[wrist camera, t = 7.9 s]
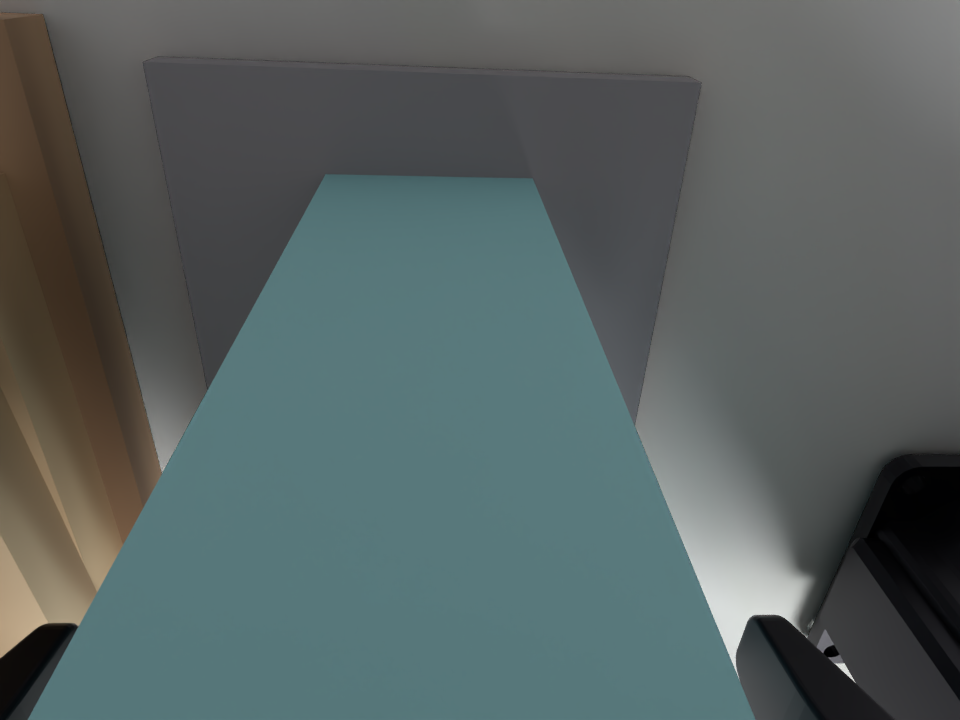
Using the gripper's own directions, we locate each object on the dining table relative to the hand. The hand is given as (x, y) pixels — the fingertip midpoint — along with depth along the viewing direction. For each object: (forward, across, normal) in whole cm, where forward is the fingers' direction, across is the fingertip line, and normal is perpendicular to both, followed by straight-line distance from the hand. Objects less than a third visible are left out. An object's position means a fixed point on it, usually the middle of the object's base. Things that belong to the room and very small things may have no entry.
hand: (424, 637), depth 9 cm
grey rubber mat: (+5, 0, 0) cm, 5 cm away
